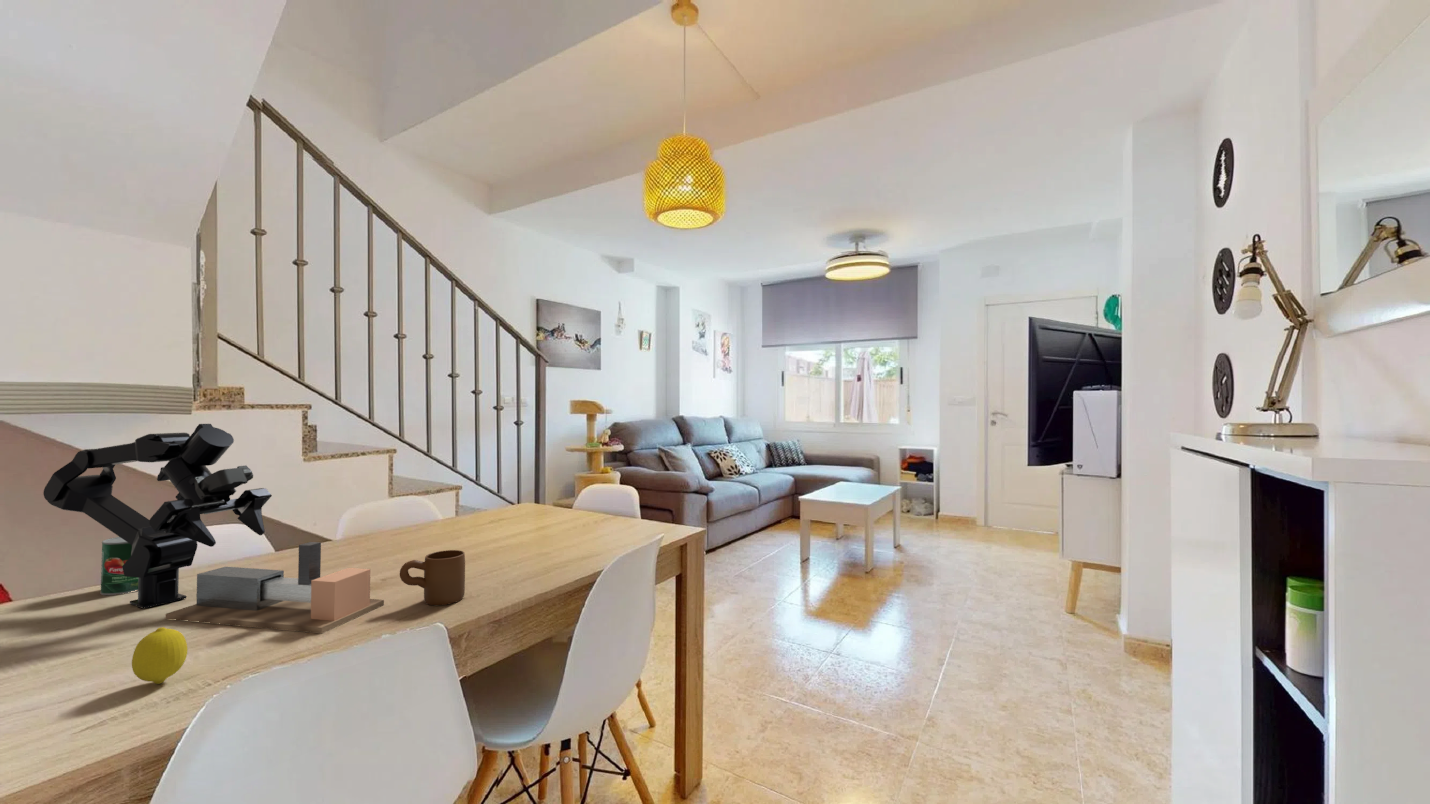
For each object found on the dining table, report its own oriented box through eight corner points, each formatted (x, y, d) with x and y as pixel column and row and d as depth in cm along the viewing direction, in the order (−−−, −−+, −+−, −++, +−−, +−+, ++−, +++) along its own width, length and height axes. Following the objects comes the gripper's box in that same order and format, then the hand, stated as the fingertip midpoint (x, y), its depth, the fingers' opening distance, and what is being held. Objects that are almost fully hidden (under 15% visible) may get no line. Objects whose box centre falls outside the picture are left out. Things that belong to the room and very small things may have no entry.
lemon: (157, 674, 79) (158, 620, 79) (197, 673, 80) (198, 619, 80) (118, 694, 74) (120, 636, 74) (162, 693, 74) (163, 635, 74)
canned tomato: (111, 597, 111) (113, 544, 111) (92, 592, 114) (93, 540, 114) (162, 585, 118) (163, 536, 119) (142, 581, 121) (143, 532, 121)
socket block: (310, 618, 98) (311, 580, 98) (347, 603, 106) (348, 567, 106) (334, 620, 97) (334, 582, 97) (369, 605, 105) (370, 569, 105)
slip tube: (231, 596, 104) (232, 541, 104) (248, 590, 107) (249, 537, 107) (333, 604, 100) (334, 547, 100) (347, 598, 103) (348, 543, 103)
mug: (401, 614, 103) (402, 565, 103) (396, 603, 109) (396, 556, 109) (468, 601, 110) (469, 555, 110) (460, 591, 116) (460, 547, 116)
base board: (165, 619, 100) (165, 613, 100) (243, 593, 114) (243, 589, 114) (321, 633, 94) (321, 627, 94) (383, 604, 108) (384, 599, 108)
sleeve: (196, 605, 104) (197, 574, 104) (225, 596, 109) (225, 566, 109) (256, 610, 102) (257, 578, 102) (283, 601, 107) (283, 570, 107)
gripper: (163, 458, 98) (211, 521, 96) (265, 450, 116) (307, 503, 114) (127, 499, 99) (174, 563, 97) (234, 485, 117) (276, 538, 115)
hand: (239, 539), depth 106 cm, fingers open, 9 cm apart
